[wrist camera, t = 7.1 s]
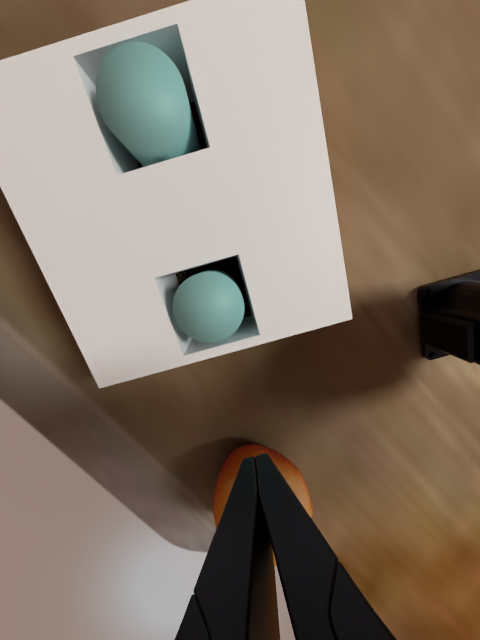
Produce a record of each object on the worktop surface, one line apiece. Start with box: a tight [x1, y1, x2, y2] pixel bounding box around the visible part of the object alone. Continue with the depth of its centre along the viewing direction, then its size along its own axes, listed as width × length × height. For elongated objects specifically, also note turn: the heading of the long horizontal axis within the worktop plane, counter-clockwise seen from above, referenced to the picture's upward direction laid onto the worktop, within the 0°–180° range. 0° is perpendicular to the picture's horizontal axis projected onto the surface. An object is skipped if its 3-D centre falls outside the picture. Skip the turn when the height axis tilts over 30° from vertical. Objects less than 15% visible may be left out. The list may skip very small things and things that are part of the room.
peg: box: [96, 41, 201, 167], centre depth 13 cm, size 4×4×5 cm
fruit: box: [214, 444, 313, 566], centre depth 20 cm, size 8×8×8 cm
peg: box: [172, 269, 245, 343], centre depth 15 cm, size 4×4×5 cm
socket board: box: [0, 0, 353, 388], centre depth 14 cm, size 16×16×5 cm
